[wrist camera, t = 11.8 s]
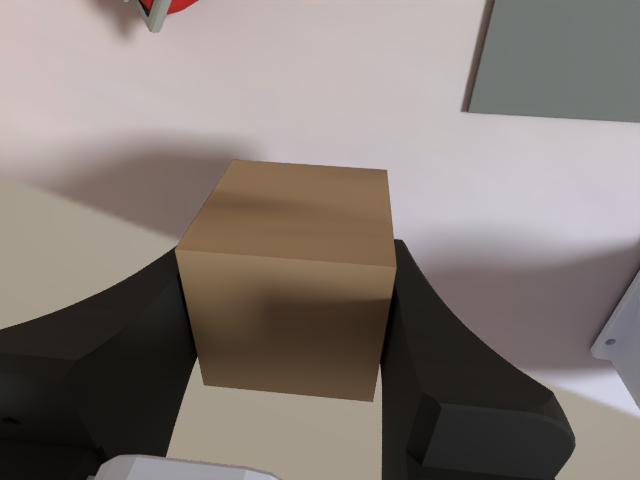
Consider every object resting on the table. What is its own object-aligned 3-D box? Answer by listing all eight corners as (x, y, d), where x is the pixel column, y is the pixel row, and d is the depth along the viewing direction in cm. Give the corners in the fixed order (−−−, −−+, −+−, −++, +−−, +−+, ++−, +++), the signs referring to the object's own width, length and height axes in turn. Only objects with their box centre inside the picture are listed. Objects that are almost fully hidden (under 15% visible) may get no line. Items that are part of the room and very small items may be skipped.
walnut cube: (371, 287, 16) (372, 401, 12) (244, 277, 16) (204, 385, 12) (386, 169, 13) (396, 267, 9) (233, 159, 13) (174, 249, 9)
